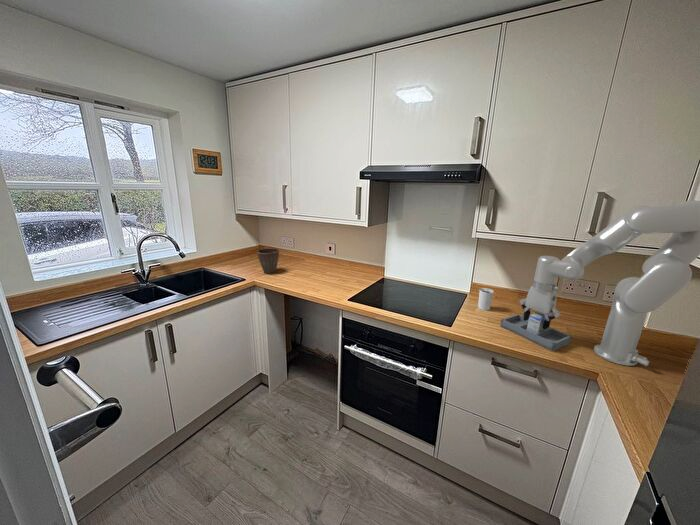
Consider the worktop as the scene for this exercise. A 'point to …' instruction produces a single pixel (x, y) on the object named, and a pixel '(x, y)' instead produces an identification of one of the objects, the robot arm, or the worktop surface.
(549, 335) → the organizer tray
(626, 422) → the worktop surface
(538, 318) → the medicine box
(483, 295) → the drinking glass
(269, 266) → the plant pot
